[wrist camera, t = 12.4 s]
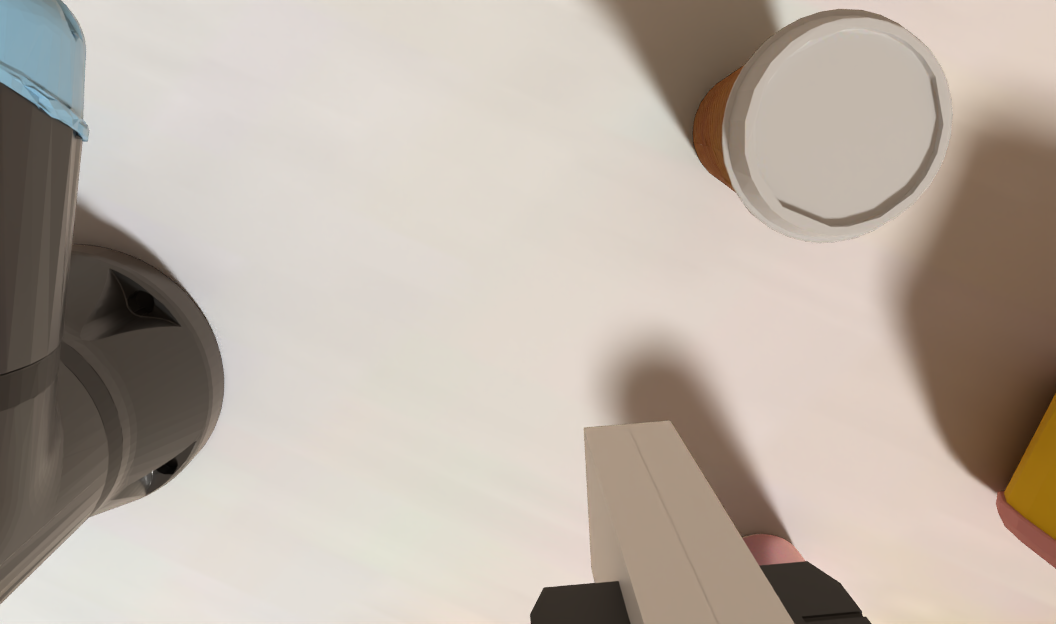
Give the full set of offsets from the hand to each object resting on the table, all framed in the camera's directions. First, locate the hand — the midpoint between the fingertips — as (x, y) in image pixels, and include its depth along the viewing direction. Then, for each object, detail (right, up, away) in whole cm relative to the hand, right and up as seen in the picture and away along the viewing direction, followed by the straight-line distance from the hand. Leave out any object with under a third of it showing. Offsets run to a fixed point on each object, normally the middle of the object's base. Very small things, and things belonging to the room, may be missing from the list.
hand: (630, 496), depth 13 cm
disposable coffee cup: (+11, +14, +29) cm, 33 cm away
